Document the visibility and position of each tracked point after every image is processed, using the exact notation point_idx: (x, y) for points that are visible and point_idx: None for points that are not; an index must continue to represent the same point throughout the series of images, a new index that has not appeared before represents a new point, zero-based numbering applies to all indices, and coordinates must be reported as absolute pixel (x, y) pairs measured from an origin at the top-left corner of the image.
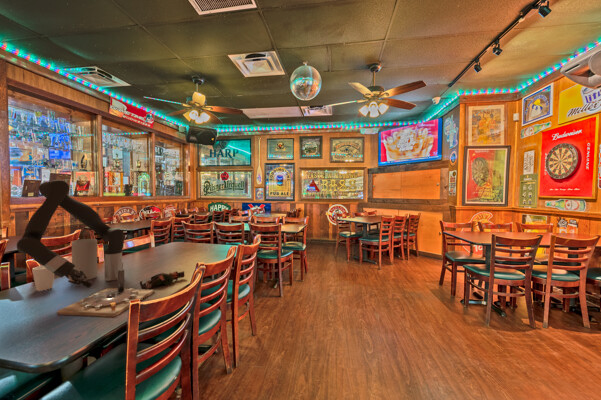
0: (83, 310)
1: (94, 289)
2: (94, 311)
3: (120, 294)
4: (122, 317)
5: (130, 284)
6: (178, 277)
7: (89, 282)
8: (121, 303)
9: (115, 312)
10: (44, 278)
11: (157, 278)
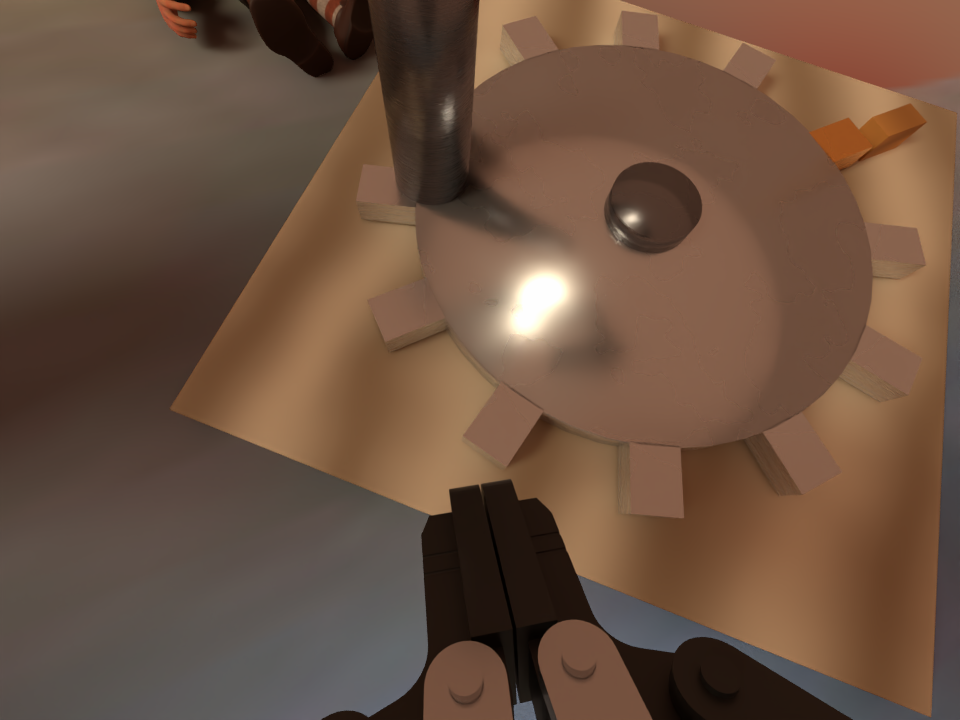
0: None
1: (14, 659)
2: (927, 273)
3: (598, 141)
4: (935, 86)
5: (52, 217)
6: None
7: (497, 537)
8: None
9: (938, 111)
10: None
11: None
